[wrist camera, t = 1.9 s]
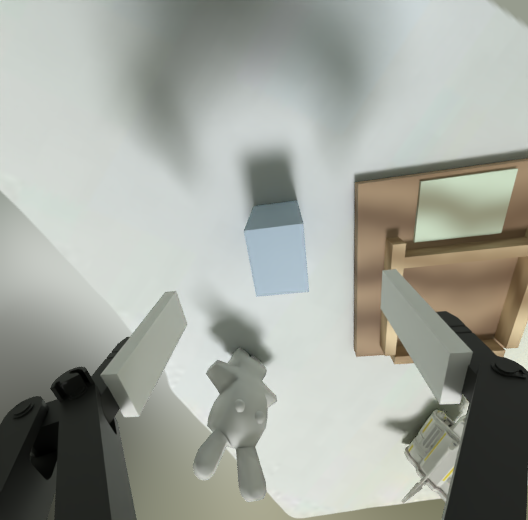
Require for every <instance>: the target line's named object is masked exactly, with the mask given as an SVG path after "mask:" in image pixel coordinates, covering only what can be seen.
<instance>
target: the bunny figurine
mask: <svg viewBox="0 0 528 520" xmlns="http://www.w3.org/2000/svg"><path fill="white" fill-rule="evenodd" d="M266 371H267V370H266V368H265V366H263V365H262V364H261V361H260V360H259V359H257V358H256V357H254V356H253V355H252V356H251V357H250V356H249V353H248V352H246V351H245V350H243V349H242V348H240V347H239V348H238V349H237V350H236V351H235V352H234V353H233V355H232V357H231V359H230V360H229V362H228V363H225V362H222V361H219V360H217V361H216V362H215V363H214V364H213V365H212V366H211V367H210V368H209V369H208V371H207V373H206V374H207V376H208V377H209V379H210V380H211V381H212V383H213V384H214V386H215V387H216V388H217V390H218V392H219V393H220V395H219V396H218V398H217V399H216V401H215V402H214V404H213V406H212V409H211V411H210V414H209V417H208V424H207V426H208V427H209V428H210V429H211V430H212V432H213V433H212V434H211V435H210V436H209V437H208V439H207V440H206V441H205V442H204V443H203V444H202V445H201V447H200V448H199V449H198V452H197V454H196V457H195V460H194V463H193V468H194V474H195V475H196V476H197V477H198V478H199V479H201V480H208V479H210V478H211V477H212V476H213V475H214V473H215V471H216V469H217V466H218V464H219V462H220V460H221V458H222V455H223V453H224V451H225V449H226V447H227V446H228V447H231V448H235V449H236V454H237V466H238V467H237V468H238V482H239V489H240V493H241V495H242V497H243V498H244V500H246V501H247V502H249V501H257V500H261V499H263V498H264V496H265V494H266V482H265V478H264V475H263V472H262V468H261V465H260V462H259V458H258V455H257V452H256V448H255V446H256V444H257V442H258V440H259V439H260V437H261V435H262V433H263V431H264V429H265V428H266V423H267V411H268V407H270V406H271V405H273V404H274V403H275V402H277V399H276V395H275V394H274V393H273V392H272V391H271V390H270V389H269V388H268V387H267V386H266V385H265V384H264V383H263V382H262V380H263V378H264V377H265V375H266Z"/></svg>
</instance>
